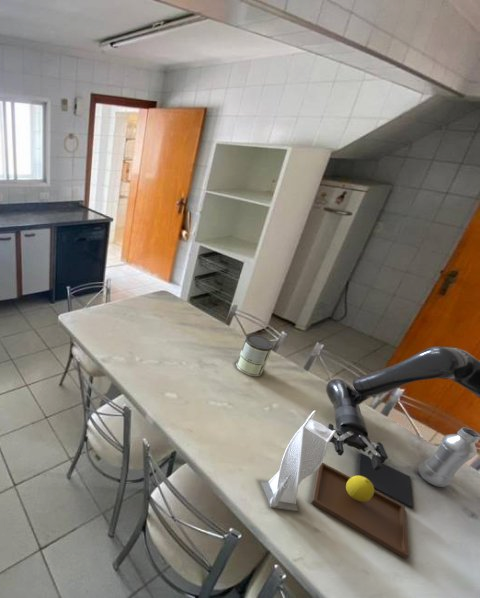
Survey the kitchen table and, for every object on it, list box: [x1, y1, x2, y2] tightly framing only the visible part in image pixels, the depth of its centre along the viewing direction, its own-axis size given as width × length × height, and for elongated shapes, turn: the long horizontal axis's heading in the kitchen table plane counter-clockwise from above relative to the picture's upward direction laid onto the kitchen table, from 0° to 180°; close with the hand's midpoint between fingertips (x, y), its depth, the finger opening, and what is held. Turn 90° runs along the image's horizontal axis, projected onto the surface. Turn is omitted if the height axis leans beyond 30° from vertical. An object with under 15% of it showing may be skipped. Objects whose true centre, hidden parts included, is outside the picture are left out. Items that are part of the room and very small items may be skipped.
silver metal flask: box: [417, 426, 480, 488], centre depth 93 cm, size 6×7×20 cm
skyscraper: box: [260, 410, 336, 512], centre depth 84 cm, size 8×8×28 cm
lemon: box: [346, 475, 375, 502], centre depth 89 cm, size 6×6×8 cm
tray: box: [311, 462, 410, 560], centre depth 88 cm, size 20×16×2 cm
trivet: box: [357, 452, 414, 509], centre depth 97 cm, size 12×12×1 cm
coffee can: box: [235, 333, 274, 377], centre depth 136 cm, size 10×10×14 cm
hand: (358, 460), depth 94 cm, fingers open, 8 cm apart
